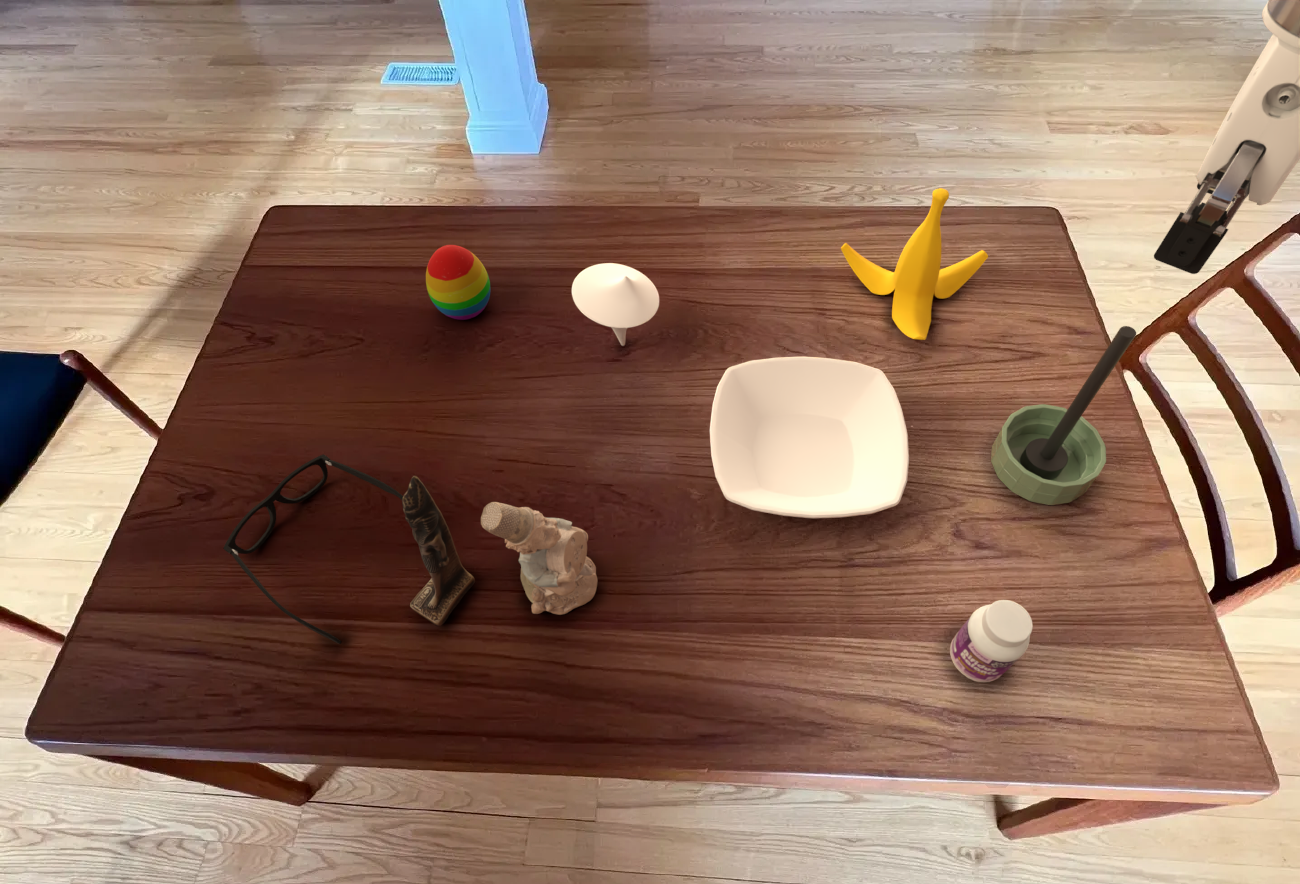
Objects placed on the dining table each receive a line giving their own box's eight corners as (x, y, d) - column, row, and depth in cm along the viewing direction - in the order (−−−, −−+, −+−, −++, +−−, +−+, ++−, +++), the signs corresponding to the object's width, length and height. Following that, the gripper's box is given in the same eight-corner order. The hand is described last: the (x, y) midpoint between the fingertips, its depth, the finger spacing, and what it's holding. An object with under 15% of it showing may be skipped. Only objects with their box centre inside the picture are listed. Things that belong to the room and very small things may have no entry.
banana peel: (837, 260, 109) (857, 156, 96) (980, 268, 107) (1021, 162, 93) (836, 351, 100) (858, 250, 86) (992, 362, 98) (1040, 260, 84)
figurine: (509, 616, 82) (461, 525, 66) (529, 544, 87) (489, 442, 71) (592, 628, 81) (564, 539, 65) (608, 554, 86) (586, 453, 69)
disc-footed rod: (1067, 460, 89) (1162, 327, 71) (1051, 487, 87) (1144, 357, 69) (1029, 441, 91) (1112, 306, 72) (1013, 467, 89) (1093, 335, 71)
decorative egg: (502, 286, 110) (486, 230, 102) (486, 330, 105) (468, 275, 97) (446, 282, 111) (425, 226, 103) (428, 325, 107) (405, 270, 98)
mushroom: (658, 310, 106) (654, 241, 96) (665, 373, 100) (661, 306, 90) (581, 317, 106) (569, 249, 96) (583, 380, 100) (570, 314, 90)
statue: (411, 611, 83) (339, 520, 67) (453, 558, 87) (395, 459, 70) (441, 630, 82) (376, 542, 65) (483, 575, 85) (431, 478, 69)
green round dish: (1103, 457, 89) (1121, 434, 86) (1066, 524, 85) (1083, 503, 81) (1013, 413, 93) (1026, 389, 90) (973, 474, 89) (985, 452, 85)
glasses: (339, 465, 95) (321, 440, 91) (444, 533, 88) (430, 510, 84) (229, 570, 88) (205, 549, 84) (334, 653, 81) (313, 635, 77)
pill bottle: (946, 675, 77) (974, 640, 69) (951, 624, 79) (979, 585, 71) (1004, 691, 76) (1040, 657, 68) (1007, 639, 78) (1042, 600, 70)
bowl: (909, 543, 85) (920, 519, 80) (707, 536, 86) (707, 513, 82) (888, 384, 97) (897, 356, 92) (711, 381, 99) (711, 354, 94)
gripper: (1385, 92, 42) (1211, 316, 56) (1449, -44, 49) (1281, 186, 63) (1233, 50, 45) (1105, 273, 59) (1315, -73, 52) (1183, 153, 66)
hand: (1196, 228), depth 61 cm, fingers open, 9 cm apart
